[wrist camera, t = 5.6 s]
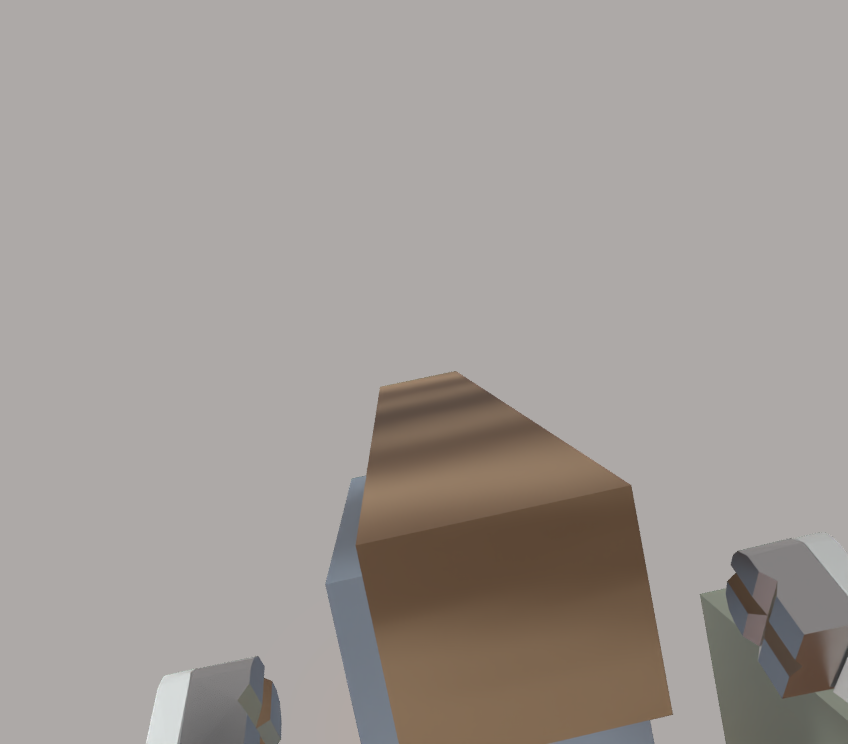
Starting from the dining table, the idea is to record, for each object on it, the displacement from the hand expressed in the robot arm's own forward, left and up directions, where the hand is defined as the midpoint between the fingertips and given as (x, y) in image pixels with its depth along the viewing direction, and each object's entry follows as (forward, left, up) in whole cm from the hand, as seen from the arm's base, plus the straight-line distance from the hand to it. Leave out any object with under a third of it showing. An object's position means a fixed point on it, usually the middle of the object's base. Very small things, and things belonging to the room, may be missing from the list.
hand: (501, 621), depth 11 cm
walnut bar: (0, +10, -1) cm, 10 cm away
